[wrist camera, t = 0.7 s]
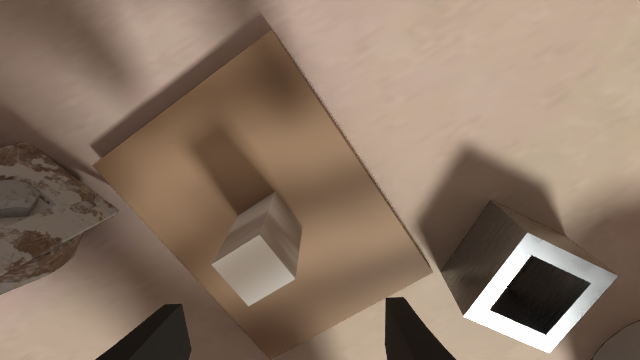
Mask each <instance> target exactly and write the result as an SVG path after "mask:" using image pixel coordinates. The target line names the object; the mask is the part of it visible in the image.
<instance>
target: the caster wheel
mask: <svg viewBox="0 0 640 360" xmlns="http://www.w3.org/2000/svg"><path fill="white" fill-rule="evenodd" d="M118 211H119V210H118V209H116V208H115V207H114V206H112V205H111V204H110V203H108V202H107V201H106V200H104V199H103V198H102V197H100V196H99V195H98V194H96V193H95V192H94V191H92V190H91V189H90V188H88V187H87V186H86V185H84V184H83V183H82V182H80V181H79V180H78V179H76V178H75V177H74V176H72V175H71V174H70V173H68V172H67V171H66V170H64V169H63V168H62V167H61V166H59V165H58V164H57V163H55V162H54V161H53V160H51V159H50V158H49V157H47V156H46V155H45V154H43V153H42V152H41V151H39V150H38V149H36V148H35V147H33V146H32V145H30V144H28V143H25V142H23V143H18V144H14V145H10V146H5V147H1V148H0V295H1V294H3V293H6V292H8V291H10V290H13V289H15V288H18V287H20V286H22V285H25V284H27V283H30V282H32V281H35V280H37V279H39V278H42V277H44V276H46V275H48V274H50V273H52V272H54V271H56V270H57V269H59V268H60V267H61V266H63V265H64V264H65V263H66V262H68V261H69V260H70V259H71V258H72V257H73V255H74V254H75V252H76V250H77V247H78V244H79V241H80V239H81V236H82V233H83V232H84V231H86V230H88V229H90V228H92V227H94V226H96V225H98V224H100V223H101V222H103V221H105V220H107V219H109V218H111V217H113V216H115V215H116V214H117V213H118Z"/></svg>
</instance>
